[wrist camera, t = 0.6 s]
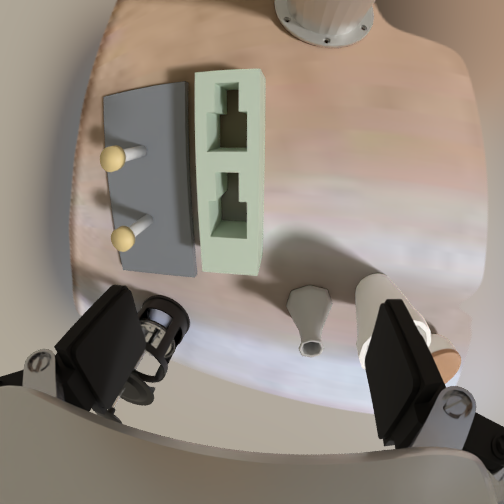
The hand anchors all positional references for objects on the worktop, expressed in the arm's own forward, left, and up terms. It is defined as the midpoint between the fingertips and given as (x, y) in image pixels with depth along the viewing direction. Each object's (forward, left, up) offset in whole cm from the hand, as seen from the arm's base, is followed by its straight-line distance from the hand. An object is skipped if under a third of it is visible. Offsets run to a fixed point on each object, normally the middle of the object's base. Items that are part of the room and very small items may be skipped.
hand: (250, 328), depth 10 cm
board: (+1, -19, -28) cm, 34 cm away
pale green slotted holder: (-1, -6, -28) cm, 29 cm away
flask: (+19, +5, -28) cm, 34 cm away
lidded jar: (+28, +29, -28) cm, 49 cm away
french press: (+25, -20, -28) cm, 42 cm away
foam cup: (+16, +15, -28) cm, 36 cm away
